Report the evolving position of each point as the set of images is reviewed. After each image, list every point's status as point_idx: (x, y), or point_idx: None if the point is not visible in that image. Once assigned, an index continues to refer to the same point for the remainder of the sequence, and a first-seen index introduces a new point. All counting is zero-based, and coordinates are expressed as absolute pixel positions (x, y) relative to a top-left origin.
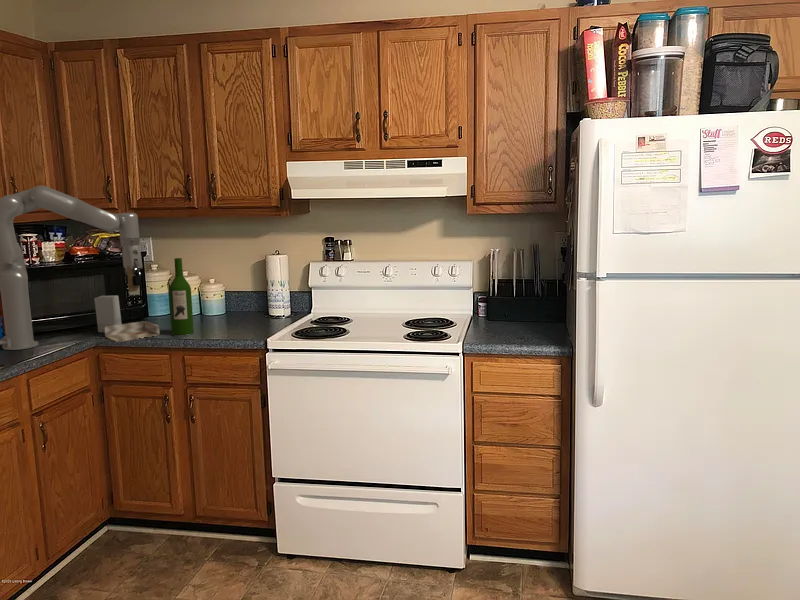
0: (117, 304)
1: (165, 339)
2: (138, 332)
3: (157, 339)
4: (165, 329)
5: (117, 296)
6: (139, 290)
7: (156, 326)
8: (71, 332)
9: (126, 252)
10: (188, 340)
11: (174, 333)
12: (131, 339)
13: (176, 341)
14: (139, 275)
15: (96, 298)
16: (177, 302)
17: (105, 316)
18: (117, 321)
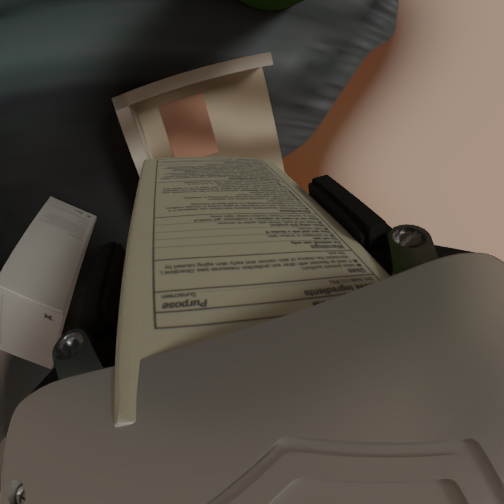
0: (29, 262)
1: (339, 54)
2: (171, 129)
3: (323, 77)
4: (124, 22)
5: (5, 286)
6: (280, 170)
7: (271, 63)
8: (63, 331)
9: None
10: (391, 7)
11: (289, 6)
12: (281, 160)
13: (387, 39)
14: (409, 235)
15: (53, 362)
16: None
17: (76, 280)
18: (69, 225)
